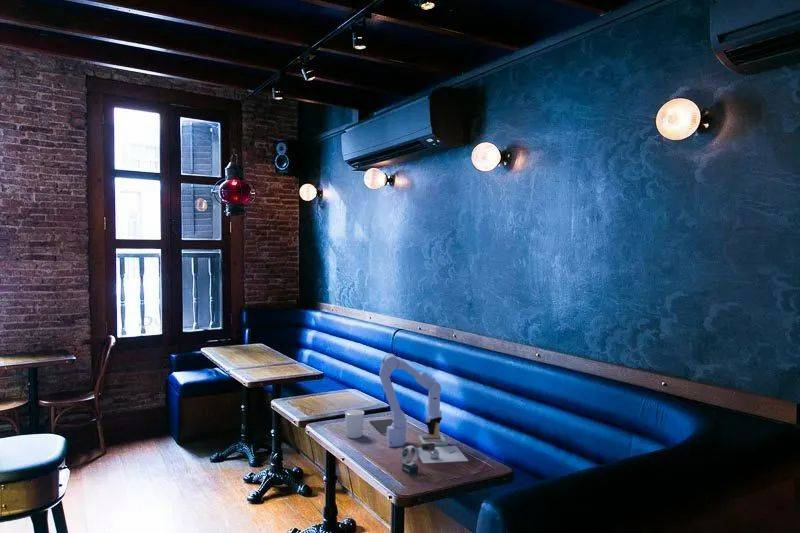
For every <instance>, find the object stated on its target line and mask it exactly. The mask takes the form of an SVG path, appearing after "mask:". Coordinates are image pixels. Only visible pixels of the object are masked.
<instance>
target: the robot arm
mask: <svg viewBox="0 0 800 533" xmlns="http://www.w3.org/2000/svg"><path fill="white" fill-rule="evenodd" d="M396 369H397V370H404V371H405V372H407V373H408V375H411V376H412V377H414V379H415V382H416V383H418V384H419V385H421V386H422V387H423V388H425V389H427V390H428V399H427V402H428V405H427V415H426V417H425V420H424V422H425V424H426V425H427V431H429V434H432V435H433V434H434V429H435V425H436V423H439V425H440V423H441V421H442V420H443V417H442V410H440V406H441V392H442V387H441V384H440V383H439V382H438V381H437V379H435V378H432V376H430V375H429V374H428V373H427V372H426V371H418V370H417V369H416V368H414V367H413V366H412V365H410V364H409V363H408V362H406V361H405V360H404V359H402V358H400V357H399V356H396V355H395V354H394V353H387V354H386V355H384V358H382V360H381V365H380V369H379V379H380V381H381V385H382V387H383V390H384V393H385V396H386V399H387V401H388V404H389V407H390V411H391V413H392V414H391V419H392V420H393V423H392V425H391V426H387V435H385V436H386V440H385V442H386V444H387V446H388V447H389V448H390V447H391V448H393V447H402V446H404V445H405V444H407V418H406V415H405V412H404V411H403V410H402V409H401V406H400V404H399V403H400V402H399V400H398V398H397V395H396V393H395V389H394V387H393V384H392V383H393V382H392V381H391V378H390V376H391V375H392V372H393V371H394V370H396Z"/></svg>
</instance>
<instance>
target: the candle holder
mask: <svg viewBox="0 0 800 533" xmlns="http://www.w3.org/2000/svg"><path fill="white" fill-rule="evenodd" d="M344 415H345V416H344V418H345V419H344V420H345V422H344V423H345V436H346V438H350V439H359V438H362V437H363V430H364V422H365V421H364V417H365V411H363V410H361V409H356V408H354V409H347V410H346V411H344Z"/></svg>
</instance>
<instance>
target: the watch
mask: <svg viewBox="0 0 800 533" xmlns="http://www.w3.org/2000/svg"><path fill="white" fill-rule="evenodd" d="M414 448H415V449H414ZM417 448H418V447H415V446H414V445H408V446H407V445H406V447H404V448H403V449H402V450H401V453H400V456H401V458H400V459H401V460H402V461H401V462H402V465H401V466H402V467H401V471H402V472H403V473H405V474H407V475H409V476H412V475H413V476H414V475H416V474H418V473H419V465H418V464H416V463H417V461H418V459H419V458H420V457H419V451H418V449H417ZM413 449H414V451H415V452H414V454H413V458H412V460H411V461H408V460H409V458H410V457H411V456H412V451H413ZM407 461H408V462H407Z"/></svg>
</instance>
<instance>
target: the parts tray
mask: <svg viewBox="0 0 800 533" xmlns="http://www.w3.org/2000/svg"><path fill="white" fill-rule="evenodd" d="M418 439H419V441H420V442H421V445H422V444H428V443H434V444H435V447H441V446H449V442H448V440H447V439H445V437H444V436H443V435H442V433H441V434H440V433H439V436H437V437H431V436H428V434H420V435H418ZM424 439H440V440H441V441H435V442H433V441H432V442H426V440H424Z"/></svg>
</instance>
